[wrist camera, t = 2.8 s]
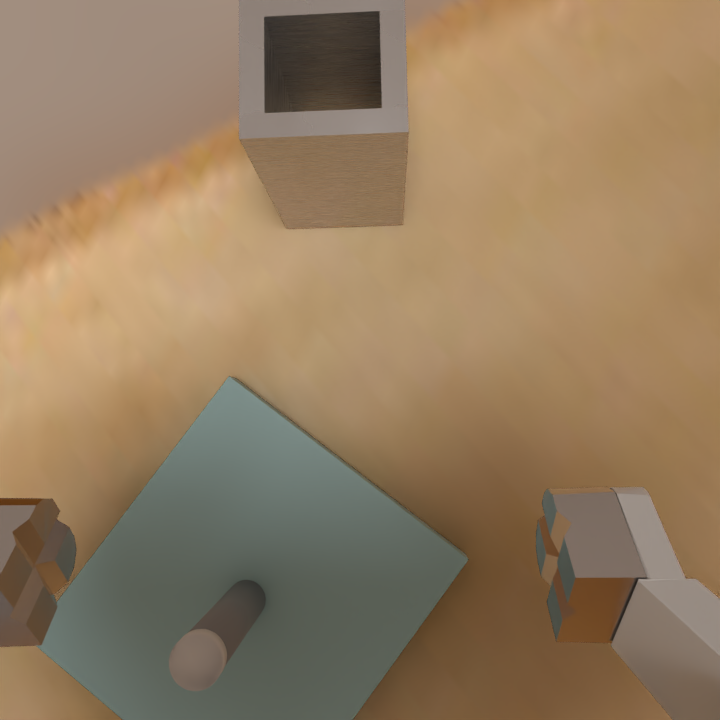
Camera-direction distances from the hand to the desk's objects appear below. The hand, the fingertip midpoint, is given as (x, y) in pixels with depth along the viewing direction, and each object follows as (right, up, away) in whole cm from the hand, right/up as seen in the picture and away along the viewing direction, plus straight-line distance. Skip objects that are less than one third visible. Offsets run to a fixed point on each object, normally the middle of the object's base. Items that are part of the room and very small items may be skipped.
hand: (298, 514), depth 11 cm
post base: (-3, -6, +13) cm, 15 cm away
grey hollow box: (0, +10, +15) cm, 18 cm away
